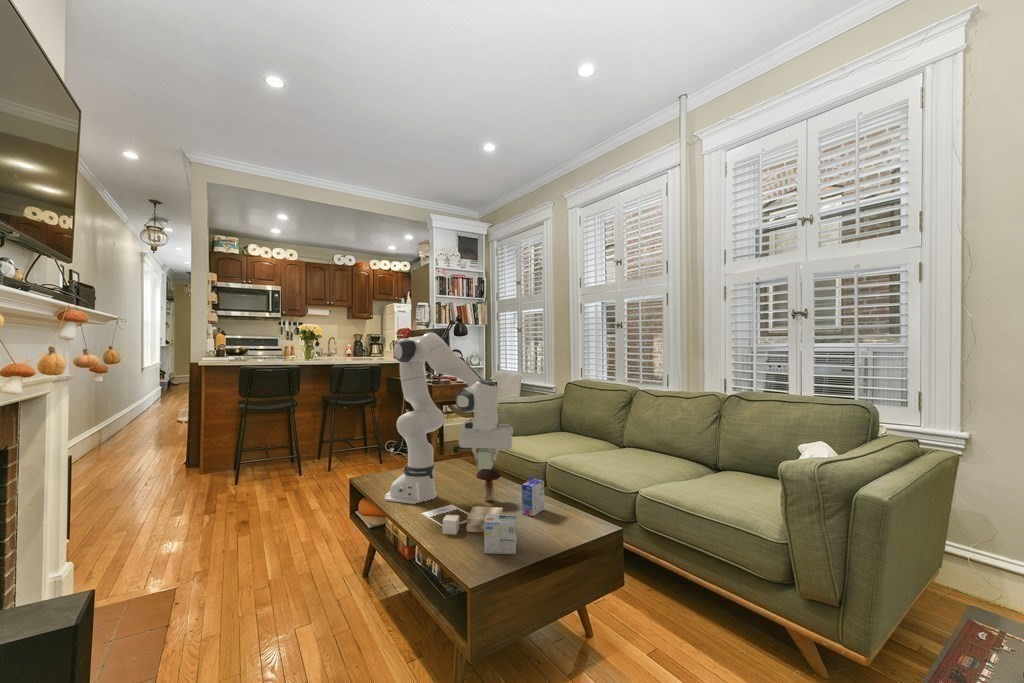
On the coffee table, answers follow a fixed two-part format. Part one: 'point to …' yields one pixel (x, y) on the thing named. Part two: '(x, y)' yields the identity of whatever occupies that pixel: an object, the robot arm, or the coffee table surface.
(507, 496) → the coffee table surface
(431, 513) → the photo frame
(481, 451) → the sage block
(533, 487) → the ink cartridge box
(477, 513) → the birch block
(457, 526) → the off-white block
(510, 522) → the light bulb box
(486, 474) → the decorative mushroom
